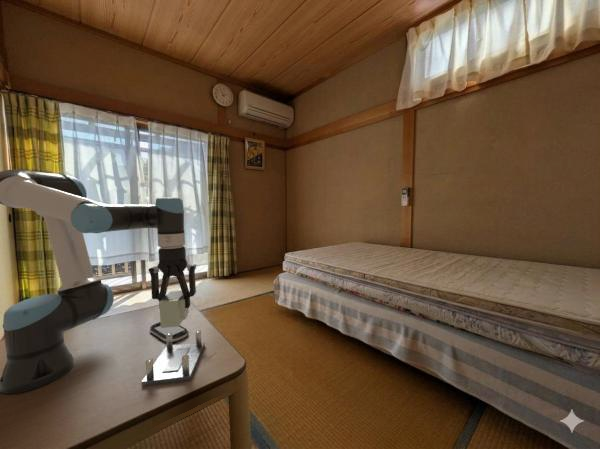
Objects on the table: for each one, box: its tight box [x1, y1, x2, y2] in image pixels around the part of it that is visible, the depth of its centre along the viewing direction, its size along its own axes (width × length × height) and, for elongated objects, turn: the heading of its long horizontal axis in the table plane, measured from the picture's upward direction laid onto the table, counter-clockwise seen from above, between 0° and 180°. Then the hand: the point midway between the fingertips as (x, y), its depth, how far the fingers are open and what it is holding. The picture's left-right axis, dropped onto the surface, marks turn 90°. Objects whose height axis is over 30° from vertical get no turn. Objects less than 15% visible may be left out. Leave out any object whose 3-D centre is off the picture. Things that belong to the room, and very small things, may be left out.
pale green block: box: [158, 289, 189, 328], centre depth 76 cm, size 5×10×8 cm, turn 9°
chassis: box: [141, 330, 206, 387], centre depth 77 cm, size 13×18×6 cm
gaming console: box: [149, 321, 189, 344], centre depth 97 cm, size 19×9×2 cm, turn 54°
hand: (175, 318), depth 76 cm, fingers closed on pale green block, 5 cm apart
